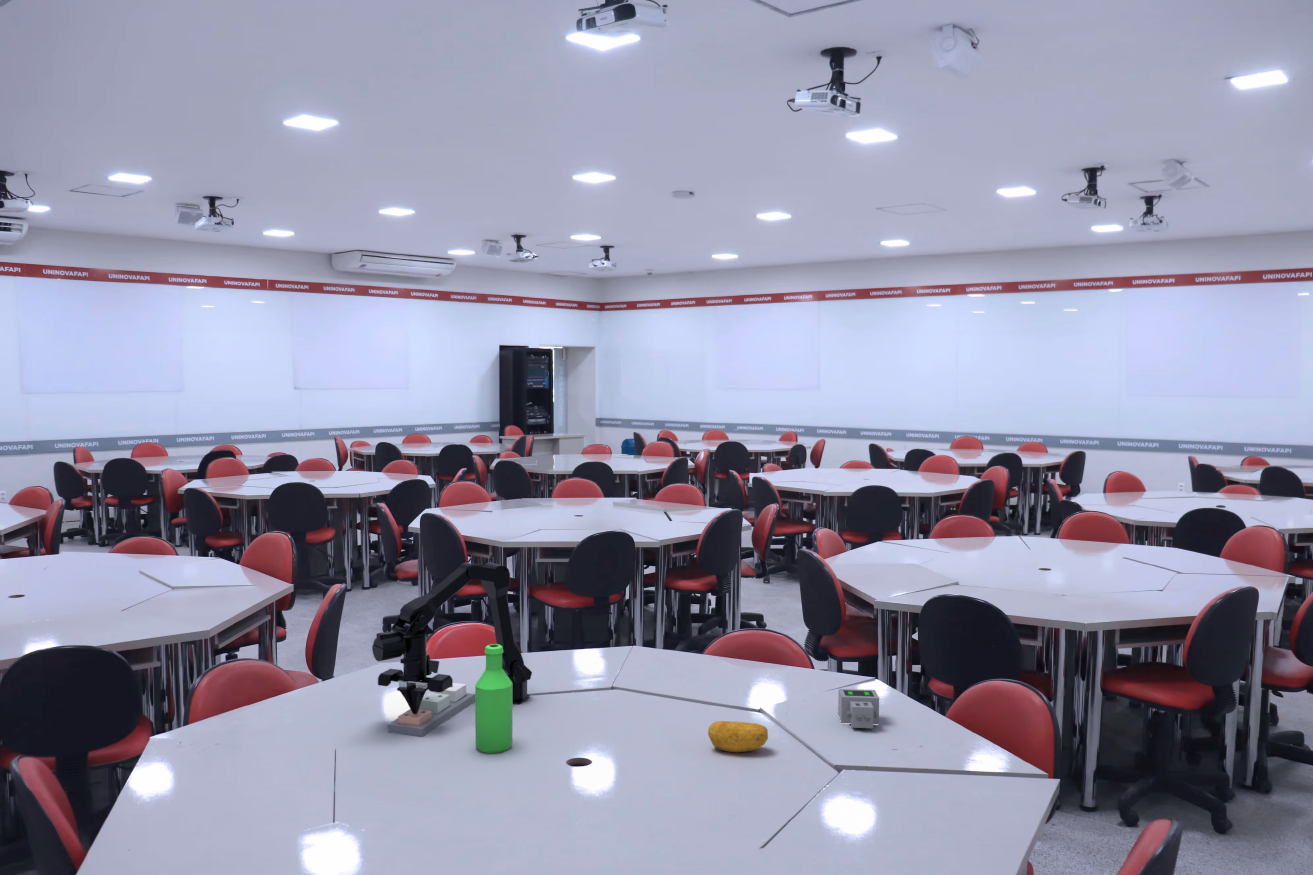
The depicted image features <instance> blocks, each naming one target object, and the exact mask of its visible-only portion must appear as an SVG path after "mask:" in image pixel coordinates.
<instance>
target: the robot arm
mask: <svg viewBox="0 0 1313 875" xmlns="http://www.w3.org/2000/svg"><path fill="white" fill-rule="evenodd" d="M472 580H479V581H480V583H481V585H482V587H483V589H484V591H485V593H486V594H487V595H488V598H489V604H490V611H491V617H492V622H493V627H494V628H493V629H494V634H495V642H496V644H499V645H501V646H502V647H503V653H502V669H503V670H504V672H505V673H506V674H507V676H508V677H509V679H510V680H511V681H512V683H513V704H518V705H520V704H523V703H524V702H525V701H526V700H528V699H529V698H530V696H531V695H530V694H528V681H529V680H531V679H532V674H533V672H532V671H531V669H530V668H529V667H527V666H526V665H525V662H524V658H523V655H522V652H521V651H520V649H519V647H518V646H517V644H516V642H515V638H514V633H513V626H512V625H513V624H512V620H511V613H510V612H511V611H510V605H509V600H508V591H509V589H510V586H511V573H510V569H509V567H506V566H505V565H502V564H499V563H494V562H486V563H485V564H478V563H477V564H476V563H470V562H463V563H461V564H460V565H459V566H458V568H456V569H455V570H454V571H453V572H451V574H449V575H448V576H447V577H445V578H444V579H443V580H442V581H440V583H438V584H437V585H436V586H434V587H433V588H432V589H431V590H430V591H428V592H427V593H426V594H424V595H421V596H419V597H416V598H414V599H412V600H410V601H409V602H406V603H405V604H404V605H403V606H402V607H401V608H400V610H399V615H398V616H397V618H396V620H395V621H394V622H393V624H392V626H391V628H390V631H386V632H378V633H376V638H374V640H373V643H372V645H371V648H372V650H371V652H372V654H373V657H374V659H375V661H376V662H383V661H388V660H393V659H397V658H400V657H402V656H403V657H402V658H400V659H399V660H400V664H402V665H403V669H397V668H389V669H387V670H385V671H383V672H380V673H379V675H378V677H377V685H378V686H379V687H380V686H381V687H388V686H390V685H391V684H392V682H394V683H395V682H396V683H398V687H397V688H396V690H397V691H399V692H400V694H401V695H402V697H403V698H404V700H405V701H406V703H407V705H408V707H409V709H411V711H412V713H413V714H416V713H418V710H419V707H420V705H421V702H422V699H423V696H425V695H426V692H427V691H429V692H431V693H436V692H443V691H445V690H446V689H448V688H449V687H451V686H453V683H454V682H453V681H454V680H453V677H452V676H451V675H449V674H444V673H443V674H441V673H438V672H439V666H440V661H438V660H431V657H430V654H427V635H433V634H435V630H433V629H432V628H431V627H430V626H429V624H430V622H432V620H433V619H434V618H435V617H436V614H437V612H438V610H439V609H440V608H441V606H443V605H444V604H445V603H446V602H447V601H448V600H450V599H451V598H452V597H453V596H454V595H456V594H457V593H458V592H459V591H460V590H462V588H464V587H465V586H466V585H467V584H468V583H470V582H471V581H472ZM406 626H408V627H406ZM432 674H436V675H435V676H432V677H427V676H430V675H432Z"/></svg>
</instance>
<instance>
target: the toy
mask: <svg viewBox="0 0 1313 875" xmlns="http://www.w3.org/2000/svg"><path fill="white" fill-rule="evenodd" d="M837 698H838V700H837V701H838V702H837V703H838V704H837V705H838V706H837V711H838V712H837V716H838V715H839V717H840V719H839V721H840V720H841V722H840V724H841V723H851V725H850V726H851V728H852V729H853V728H855V729H856V728H857V729H858V728H859V729H874V726H873V724H879V725H880V697H879V695H878V693H877V691H876V689H861V688H860V689H858V688H857V689H854V688H838V697H837ZM839 717H838V718H839Z"/></svg>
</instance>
